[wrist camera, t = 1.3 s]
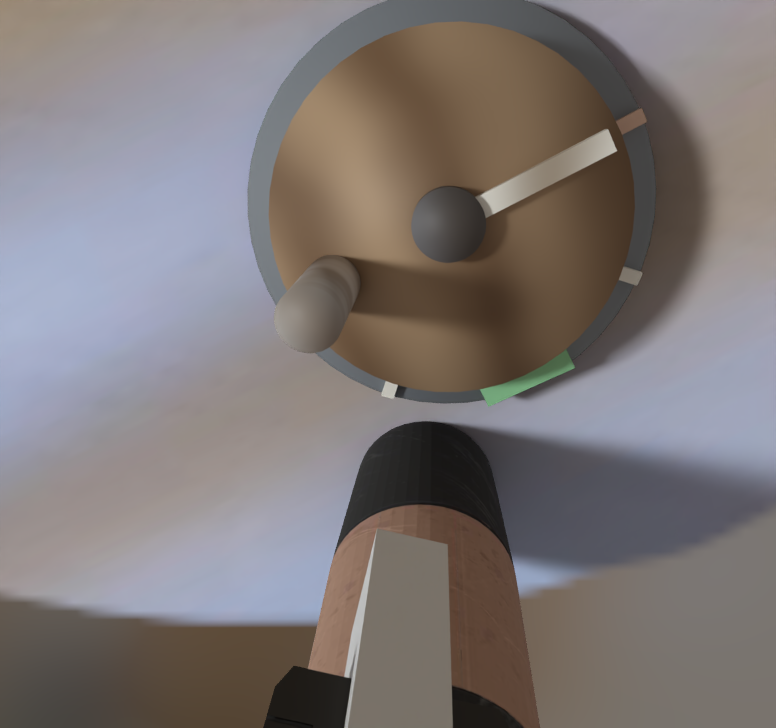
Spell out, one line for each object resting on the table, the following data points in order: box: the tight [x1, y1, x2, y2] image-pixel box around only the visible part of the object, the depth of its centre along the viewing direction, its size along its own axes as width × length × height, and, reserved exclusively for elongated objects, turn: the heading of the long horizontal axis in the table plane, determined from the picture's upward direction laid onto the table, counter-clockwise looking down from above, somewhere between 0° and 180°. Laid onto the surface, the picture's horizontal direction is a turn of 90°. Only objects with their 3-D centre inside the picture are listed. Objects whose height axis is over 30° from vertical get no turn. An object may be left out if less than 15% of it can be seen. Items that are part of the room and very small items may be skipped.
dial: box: [269, 21, 635, 392], centre depth 26 cm, size 15×15×8 cm
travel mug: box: [308, 422, 540, 728], centre depth 27 cm, size 8×8×20 cm
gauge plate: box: [248, 0, 656, 406], centre depth 31 cm, size 18×18×2 cm
